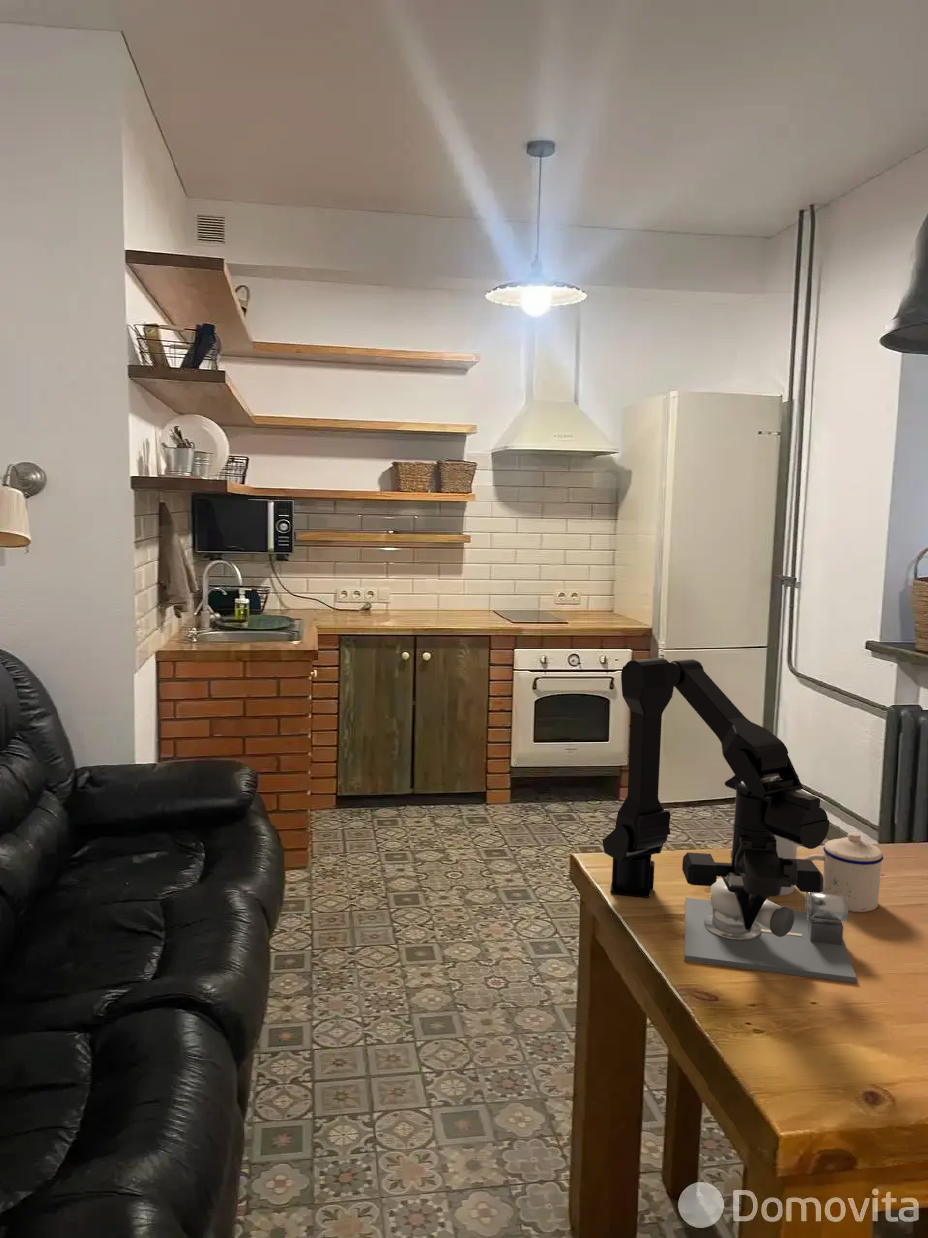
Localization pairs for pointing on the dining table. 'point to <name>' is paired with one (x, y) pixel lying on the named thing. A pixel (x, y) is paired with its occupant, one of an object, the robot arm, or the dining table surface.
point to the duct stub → (730, 926)
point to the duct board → (765, 948)
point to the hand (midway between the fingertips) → (747, 928)
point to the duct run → (826, 917)
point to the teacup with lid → (852, 871)
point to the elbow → (768, 915)
